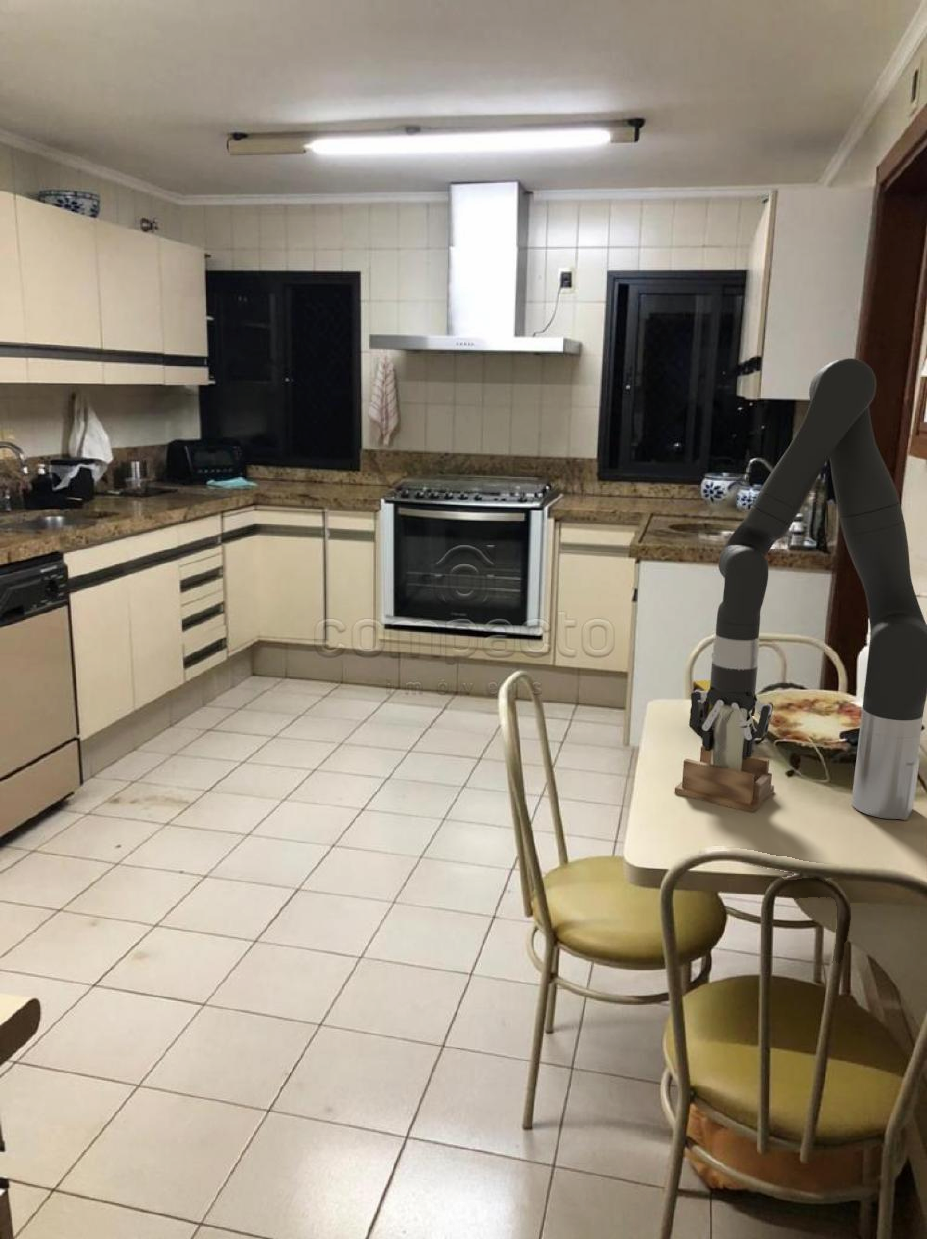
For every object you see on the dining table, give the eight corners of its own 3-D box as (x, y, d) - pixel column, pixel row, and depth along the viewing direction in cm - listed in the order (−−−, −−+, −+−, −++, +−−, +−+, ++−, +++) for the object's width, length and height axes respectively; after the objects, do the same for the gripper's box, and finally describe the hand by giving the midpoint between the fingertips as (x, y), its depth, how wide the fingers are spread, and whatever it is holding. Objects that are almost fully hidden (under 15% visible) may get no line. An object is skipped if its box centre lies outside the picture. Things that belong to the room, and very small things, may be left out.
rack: (773, 791, 169) (776, 759, 168) (753, 813, 160) (756, 779, 159) (697, 773, 177) (699, 742, 175) (674, 793, 168) (676, 760, 166)
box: (709, 767, 170) (715, 698, 167) (734, 768, 170) (740, 699, 167) (716, 779, 165) (722, 708, 162) (742, 780, 165) (748, 708, 162)
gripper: (784, 663, 162) (775, 756, 166) (702, 649, 170) (695, 739, 174) (770, 673, 156) (761, 770, 160) (686, 659, 164) (679, 751, 168)
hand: (727, 753), depth 167 cm, fingers closed on box, 6 cm apart
